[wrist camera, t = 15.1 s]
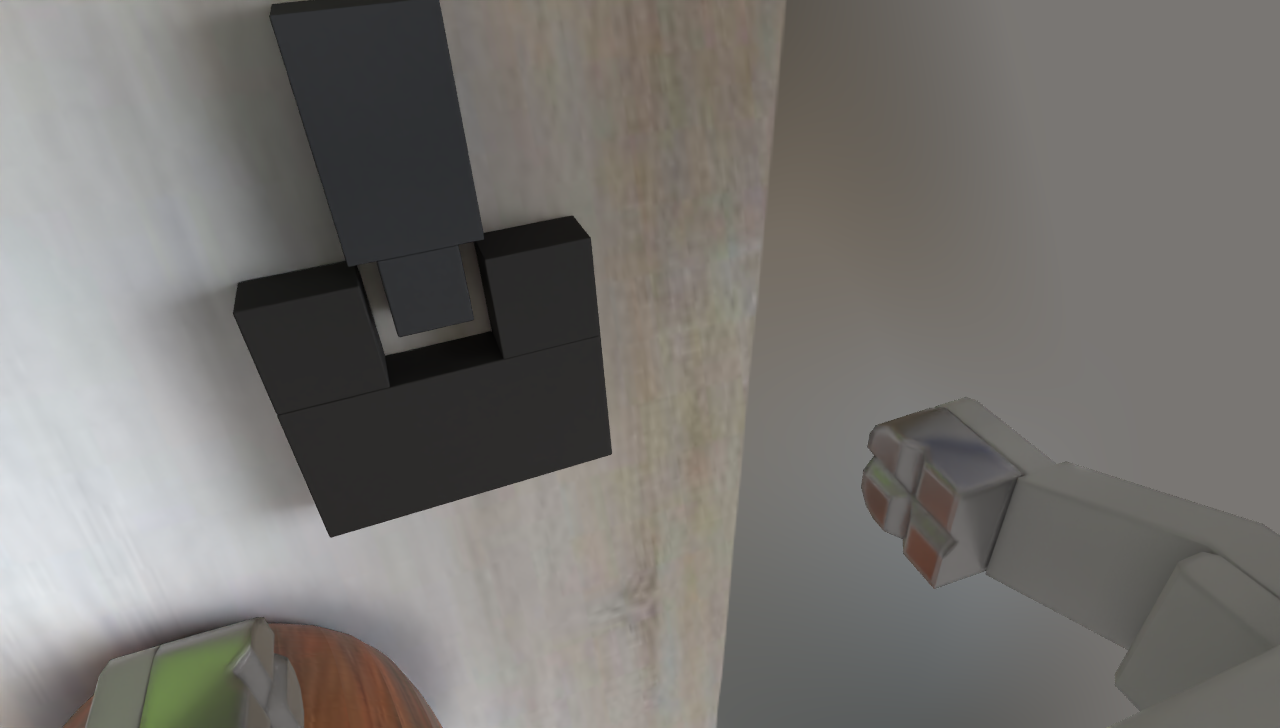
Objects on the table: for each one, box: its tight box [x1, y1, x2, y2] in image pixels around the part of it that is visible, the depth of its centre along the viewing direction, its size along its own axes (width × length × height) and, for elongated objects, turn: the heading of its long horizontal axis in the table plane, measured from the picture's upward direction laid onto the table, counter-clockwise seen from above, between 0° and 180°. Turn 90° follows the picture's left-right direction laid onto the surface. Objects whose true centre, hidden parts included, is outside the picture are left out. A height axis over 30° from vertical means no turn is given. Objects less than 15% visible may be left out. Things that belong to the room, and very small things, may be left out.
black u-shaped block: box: [233, 216, 612, 537], centre depth 38 cm, size 16×14×3 cm
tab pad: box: [269, 0, 484, 337], centre depth 32 cm, size 6×14×3 cm, turn 3°
